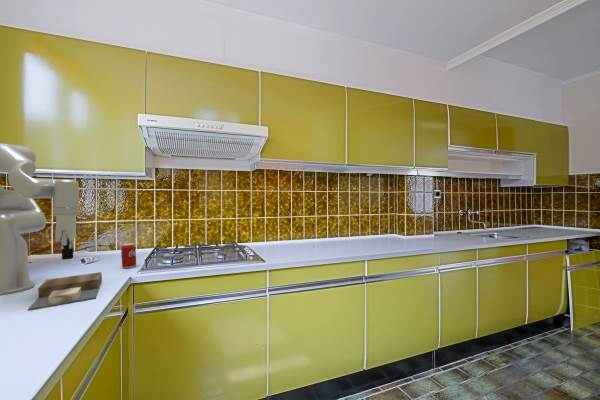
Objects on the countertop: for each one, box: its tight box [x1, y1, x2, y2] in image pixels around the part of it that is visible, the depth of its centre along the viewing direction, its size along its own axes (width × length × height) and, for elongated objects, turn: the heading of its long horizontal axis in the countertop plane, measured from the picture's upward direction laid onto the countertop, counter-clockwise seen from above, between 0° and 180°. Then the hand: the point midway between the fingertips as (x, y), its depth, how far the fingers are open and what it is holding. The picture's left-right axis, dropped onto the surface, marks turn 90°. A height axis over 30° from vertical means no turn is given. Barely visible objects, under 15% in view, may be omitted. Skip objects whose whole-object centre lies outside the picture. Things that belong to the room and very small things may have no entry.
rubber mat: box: [27, 288, 100, 312], centre depth 102 cm, size 18×11×1 cm, turn 121°
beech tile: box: [48, 287, 81, 304], centre depth 101 cm, size 8×7×2 cm
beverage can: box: [120, 242, 137, 269], centre depth 144 cm, size 6×6×12 cm
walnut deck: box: [37, 271, 103, 298], centre depth 112 cm, size 18×12×4 cm, turn 121°
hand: (67, 258), depth 109 cm, fingers closed
